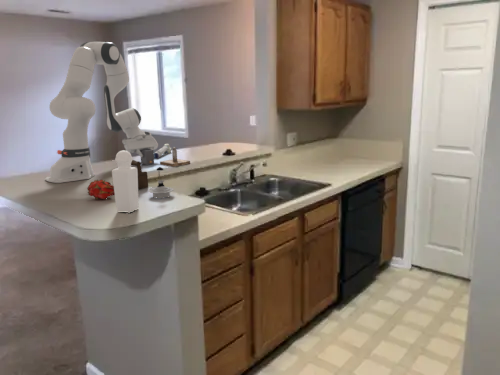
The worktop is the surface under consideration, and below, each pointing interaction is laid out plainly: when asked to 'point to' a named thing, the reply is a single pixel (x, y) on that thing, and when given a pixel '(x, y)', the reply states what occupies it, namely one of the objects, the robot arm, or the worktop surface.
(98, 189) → the dragon fruit
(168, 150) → the grey dark-ended cylinder
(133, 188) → the white bottle
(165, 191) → the grey knobbed stem base
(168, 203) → the worktop surface
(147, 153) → the dark grey box
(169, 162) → the post plate
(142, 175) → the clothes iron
